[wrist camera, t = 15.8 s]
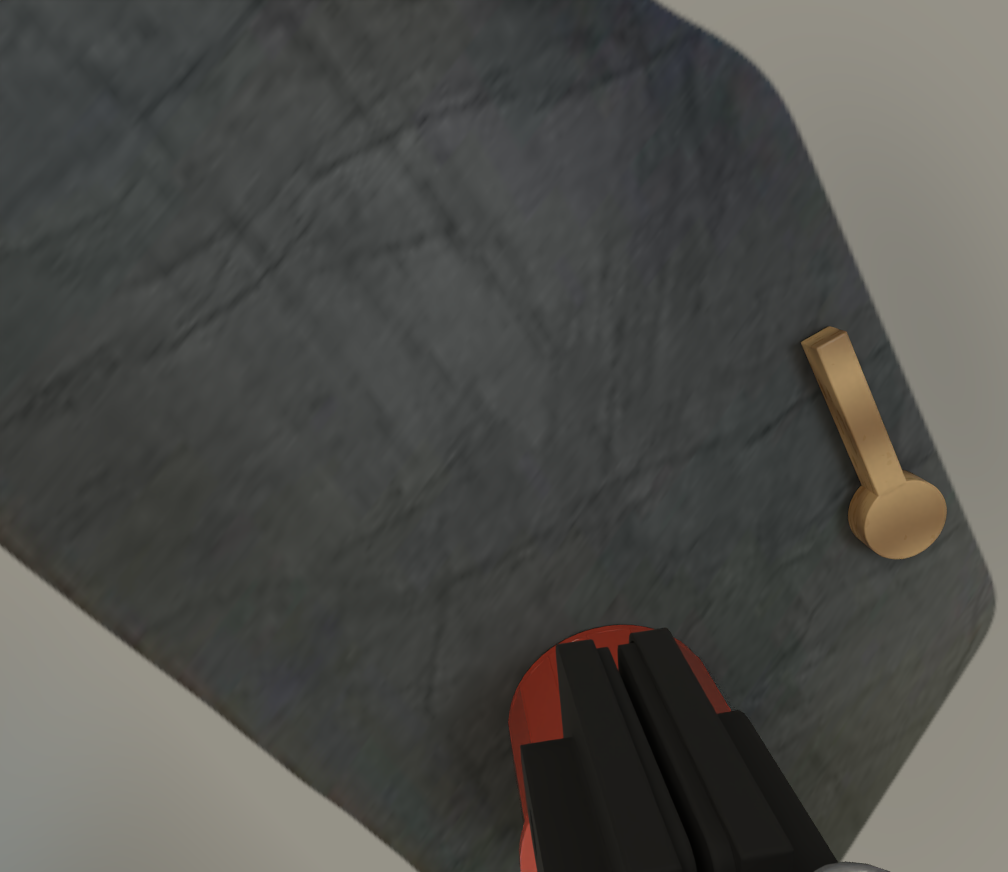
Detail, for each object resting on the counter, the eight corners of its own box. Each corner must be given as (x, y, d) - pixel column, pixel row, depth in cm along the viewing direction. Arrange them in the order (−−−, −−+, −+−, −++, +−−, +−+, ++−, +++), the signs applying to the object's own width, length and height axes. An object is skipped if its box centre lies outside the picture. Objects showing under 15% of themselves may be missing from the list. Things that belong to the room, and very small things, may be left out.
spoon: (773, 356, 36) (789, 363, 35) (855, 310, 36) (874, 315, 35) (863, 559, 41) (881, 574, 39) (937, 519, 40) (957, 532, 39)
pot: (497, 641, 40) (518, 756, 32) (710, 609, 40) (783, 713, 32) (518, 813, 43) (541, 954, 35) (713, 780, 44) (778, 912, 36)
